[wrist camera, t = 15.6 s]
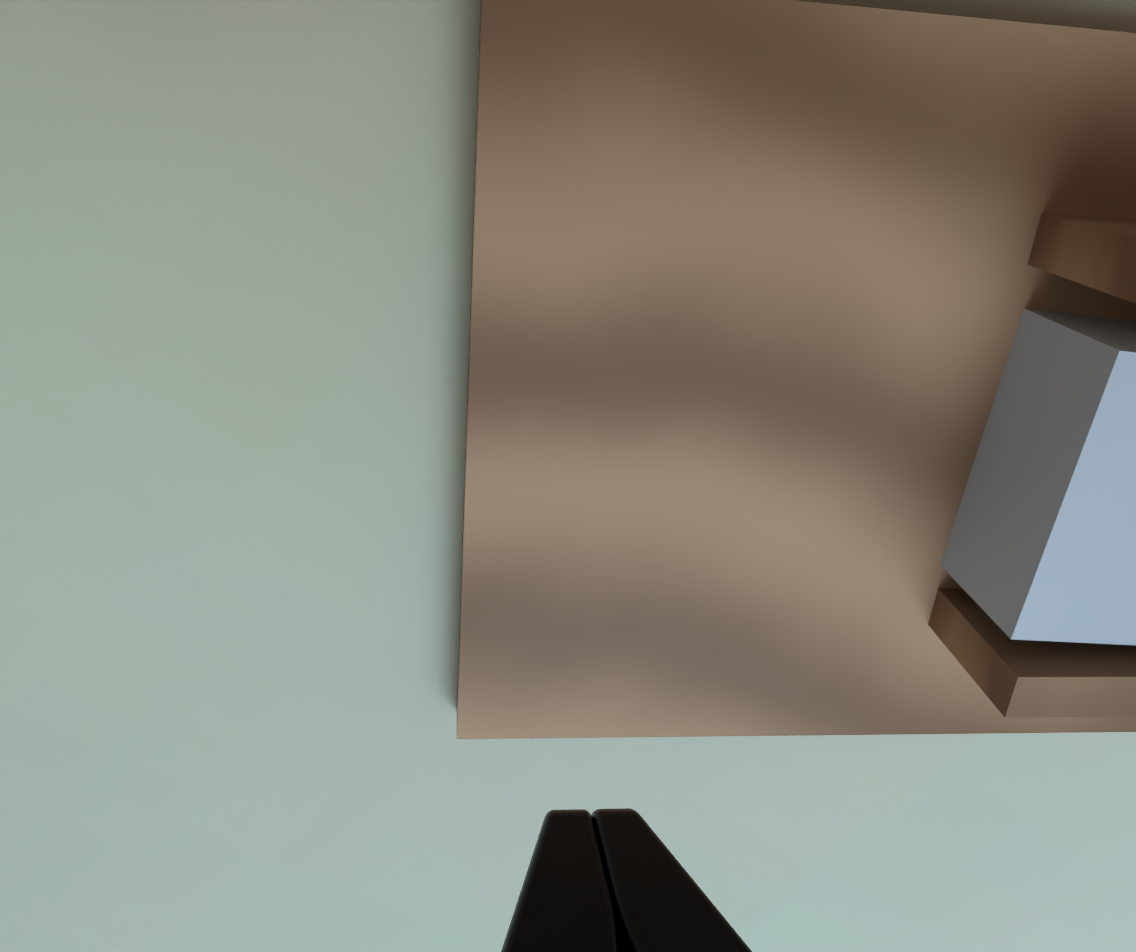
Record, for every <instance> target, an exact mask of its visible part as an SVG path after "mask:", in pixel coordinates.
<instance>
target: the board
mask: <svg viewBox="0 0 1136 952" xmlns="http://www.w3.org/2000/svg"><path fill="white" fill-rule="evenodd" d="M1024 309H1033V310H1043V311H1052V312H1061V313H1071V314H1080V315H1090V316H1099V317H1108V318H1118V319H1127V320H1136V33H1131V32H1121V31H1110V30H1100V29H1089V28H1079V27H1068V26H1058V25H1048V24H1037V23H1027V22H1016V21H1006V20H995V19H985V18H975V17H964V16H954V15H943V14H933V13H922V12H912V11H902V10H891V9H881V8H870V7H860V6H849V5H839V4H829V3H818V2H808V1H797V0H481V12H480V42H479V71H478V101H477V131H476V160H475V190H474V220H473V249H472V279H471V308H470V338H469V368H468V397H467V427H466V457H465V486H464V516H463V545H462V575H461V605H460V634H459V664H458V694H457V739H507V738H599V737H690V736H782V735H874V734H965V733H1057V732H1136V645H1117V644H1096V643H1075V642H1054V641H1034V640H1013V639H1010V638H1009V637H1008V636H1007V635H1006V634H1005V633H1004V632H1003V631H1002V629H1001V628H1000V627H999V626H998V625H997V624H996V623H995V622H994V621H993V620H992V619H991V618H990V617H989V616H988V615H987V614H986V613H985V612H984V611H983V609H982V608H981V607H980V606H979V605H978V604H977V603H976V602H975V601H974V600H973V599H972V598H971V597H970V596H969V595H968V594H967V593H966V592H965V590H964V589H963V588H962V587H961V586H960V585H959V584H958V583H957V582H956V581H955V580H954V579H953V578H952V577H951V576H950V575H949V574H948V573H947V572H946V570H945V569H944V568H943V567H942V566H941V565H940V564H941V561H942V558H943V555H944V552H945V549H946V545H947V542H948V539H949V536H950V533H951V530H952V527H953V524H954V521H955V518H956V515H957V512H958V509H959V506H960V503H961V500H962V497H963V494H964V490H965V487H966V484H967V481H968V478H969V475H970V472H971V469H972V466H973V463H974V460H975V457H976V454H977V451H978V448H979V445H980V442H981V438H982V435H983V432H984V429H985V426H986V423H987V420H988V417H989V414H990V411H991V408H992V405H993V402H994V399H995V396H996V393H997V390H998V387H999V383H1000V380H1001V377H1002V374H1003V371H1004V368H1005V365H1006V362H1007V359H1008V356H1009V353H1010V350H1011V347H1012V344H1013V341H1014V338H1015V335H1016V331H1017V328H1018V325H1019V322H1020V319H1021V316H1022V313H1023V310H1024Z"/></svg>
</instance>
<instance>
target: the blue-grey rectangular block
mask: <svg viewBox="0 0 1136 952" xmlns="http://www.w3.org/2000/svg"><path fill="white" fill-rule="evenodd" d="M940 565H941V566H942V567H943V568H944V569H945V570H946V572H947V573H948V574H949V575H950V576H951V577H952V578H953V579H954V580H955V581H956V582H957V583H958V584H959V585H960V586H961V587H962V588H963V589H964V590H965V592H966V593H967V594H968V595H969V596H970V597H971V598H972V599H973V600H974V601H975V602H976V603H977V604H978V605H979V606H980V607H981V608H982V609H983V611H984V612H985V613H986V614H987V615H988V616H989V617H990V618H991V619H992V620H993V621H994V622H995V623H996V624H997V625H998V626H999V627H1000V628H1001V629H1002V631H1003V632H1004V633H1005V634H1006V635H1007V636H1008V637H1009V638H1010V639H1013V640H1034V641H1054V642H1075V643H1096V644H1117V645H1136V320H1127V319H1118V318H1108V317H1099V316H1090V315H1080V314H1071V313H1061V312H1052V311H1043V310H1033V309H1024V310H1023V313H1022V316H1021V319H1020V322H1019V325H1018V328H1017V331H1016V335H1015V338H1014V341H1013V344H1012V347H1011V350H1010V353H1009V356H1008V359H1007V362H1006V365H1005V368H1004V371H1003V374H1002V377H1001V380H1000V383H999V387H998V390H997V393H996V396H995V399H994V402H993V405H992V408H991V411H990V414H989V417H988V420H987V423H986V426H985V429H984V432H983V435H982V438H981V442H980V445H979V448H978V451H977V454H976V457H975V460H974V463H973V466H972V469H971V472H970V475H969V478H968V481H967V484H966V487H965V490H964V494H963V497H962V500H961V503H960V506H959V509H958V512H957V515H956V518H955V521H954V524H953V527H952V530H951V533H950V536H949V539H948V542H947V545H946V549H945V552H944V555H943V558H942V561H941V564H940Z"/></svg>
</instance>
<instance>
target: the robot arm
mask: <svg viewBox="0 0 1136 952" xmlns="http://www.w3.org/2000/svg"><path fill="white" fill-rule="evenodd" d="M501 952H752V951H751V950H750V949H749V947H748V946H747V945H746V944H745V943H744V941H743V940H742V939H741V938H740V937H739V935H738V934H737V933H736V932H735V930H734V929H733V928H732V927H731V926H730V924H729V923H728V922H727V921H726V919H725V918H724V917H723V916H722V915H721V913H720V912H719V911H718V910H717V908H716V907H715V906H714V905H713V904H712V902H711V901H710V900H709V899H708V897H707V896H706V895H705V894H704V893H703V891H702V890H701V889H700V888H699V887H698V885H697V884H696V883H695V882H694V880H693V879H692V878H691V877H690V876H689V874H688V873H687V872H686V871H685V869H684V868H683V867H682V866H681V865H680V863H679V862H678V861H677V860H676V858H675V857H674V856H673V855H672V854H671V852H670V851H669V850H668V849H667V848H666V846H665V845H664V844H663V843H662V841H661V840H660V839H659V838H658V837H657V835H656V834H655V833H654V832H653V830H652V829H651V828H650V827H649V826H648V824H647V823H646V822H645V821H644V819H643V818H642V817H641V816H640V815H639V814H638V813H637V812H636V811H634V810H632V809H598V810H596V811H594V812H593V813H592V815H590V813H589V812H588V811H586V810H552V811H550V812H548V813H547V815H546V816H545V819H544V822H543V825H542V828H541V831H540V834H539V837H538V840H537V843H536V846H535V849H534V853H533V856H532V859H531V862H530V865H529V868H528V871H527V874H526V877H525V880H524V883H523V886H522V890H521V893H520V896H519V899H518V902H517V905H516V908H515V911H514V914H513V917H512V920H511V923H510V926H509V930H508V933H507V936H506V939H505V942H504V945H503V948H502V951H501Z"/></svg>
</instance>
